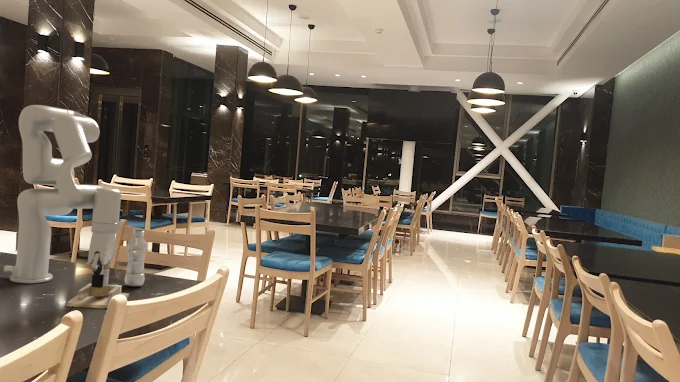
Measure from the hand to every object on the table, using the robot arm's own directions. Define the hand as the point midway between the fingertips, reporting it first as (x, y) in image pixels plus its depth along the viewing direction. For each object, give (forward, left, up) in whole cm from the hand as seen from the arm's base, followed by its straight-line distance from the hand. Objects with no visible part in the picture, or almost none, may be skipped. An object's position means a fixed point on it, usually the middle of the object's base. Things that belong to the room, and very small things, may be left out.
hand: (100, 284), depth 150 cm
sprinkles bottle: (0, 0, -4) cm, 4 cm away
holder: (0, 0, -5) cm, 5 cm away
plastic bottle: (+5, +20, -5) cm, 21 cm away
